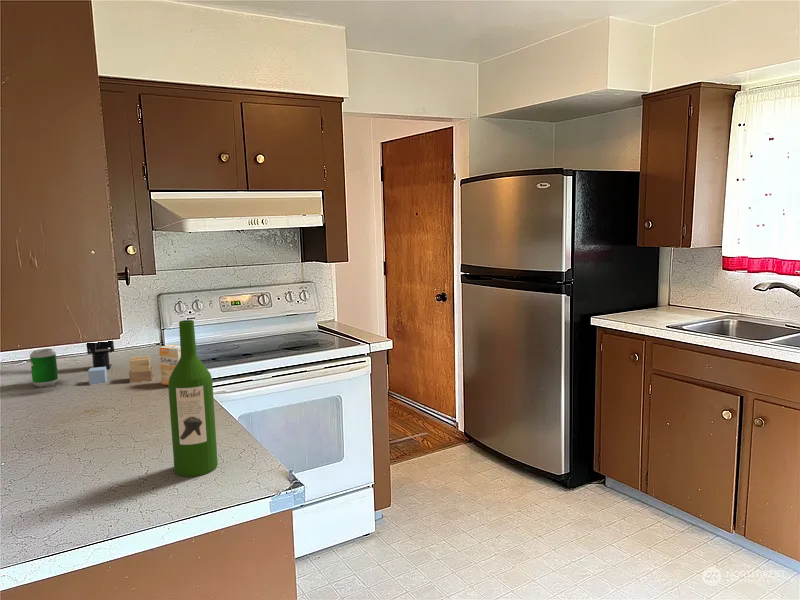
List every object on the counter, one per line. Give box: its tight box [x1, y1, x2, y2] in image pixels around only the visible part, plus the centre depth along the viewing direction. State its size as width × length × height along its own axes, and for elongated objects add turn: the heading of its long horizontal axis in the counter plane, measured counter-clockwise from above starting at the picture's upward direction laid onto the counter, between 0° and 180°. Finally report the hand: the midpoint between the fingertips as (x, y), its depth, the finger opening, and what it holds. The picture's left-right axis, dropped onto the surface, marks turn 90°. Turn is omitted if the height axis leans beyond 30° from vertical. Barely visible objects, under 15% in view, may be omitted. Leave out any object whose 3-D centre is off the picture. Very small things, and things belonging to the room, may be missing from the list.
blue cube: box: [87, 367, 108, 386], centre depth 203 cm, size 5×5×5 cm
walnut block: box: [128, 365, 154, 383], centre depth 205 cm, size 7×7×4 cm
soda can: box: [29, 348, 59, 388], centre depth 201 cm, size 8×8×12 cm
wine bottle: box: [167, 319, 218, 478], centre depth 125 cm, size 9×9×32 cm
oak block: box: [129, 355, 152, 372], centre depth 205 cm, size 6×6×4 cm
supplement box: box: [159, 344, 181, 386], centre depth 198 cm, size 8×5×13 cm, turn 68°
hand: (95, 349), depth 201 cm, fingers open, 9 cm apart
